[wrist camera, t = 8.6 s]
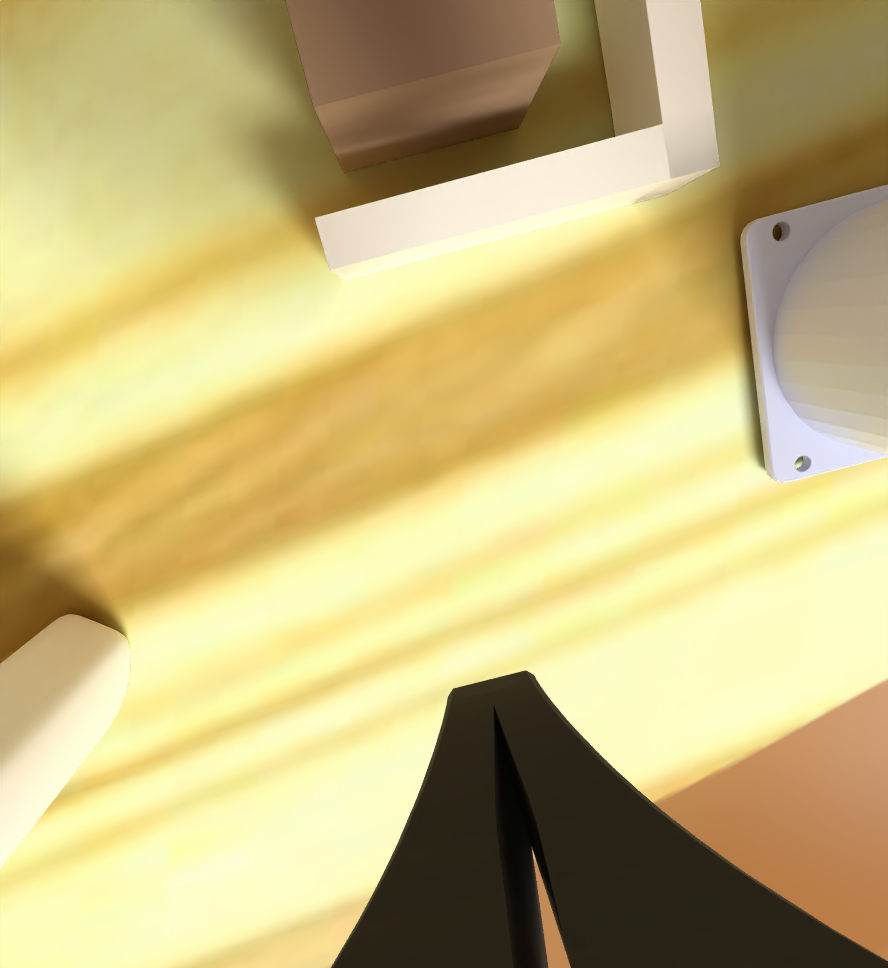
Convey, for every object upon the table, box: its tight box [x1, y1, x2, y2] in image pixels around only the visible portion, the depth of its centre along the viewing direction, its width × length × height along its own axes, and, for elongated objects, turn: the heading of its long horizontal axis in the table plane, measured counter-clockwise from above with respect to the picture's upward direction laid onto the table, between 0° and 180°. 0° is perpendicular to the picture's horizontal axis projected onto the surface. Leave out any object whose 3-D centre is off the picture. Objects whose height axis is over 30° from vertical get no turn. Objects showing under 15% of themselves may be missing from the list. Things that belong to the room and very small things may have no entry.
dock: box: [315, 0, 720, 281], centre depth 14 cm, size 10×10×3 cm
